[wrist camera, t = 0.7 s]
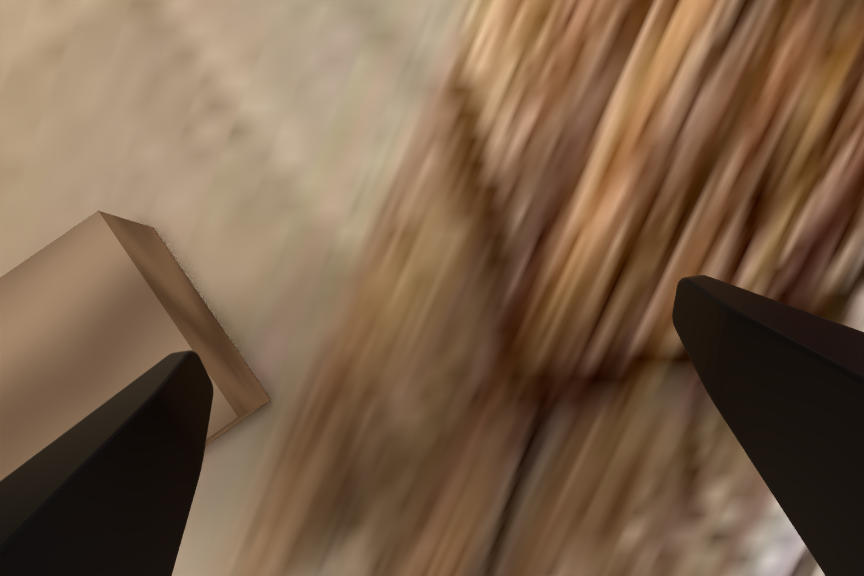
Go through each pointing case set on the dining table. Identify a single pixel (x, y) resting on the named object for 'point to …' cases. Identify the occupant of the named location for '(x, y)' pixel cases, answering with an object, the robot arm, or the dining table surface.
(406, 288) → the dining table surface
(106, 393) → the stand
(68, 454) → the robot arm
